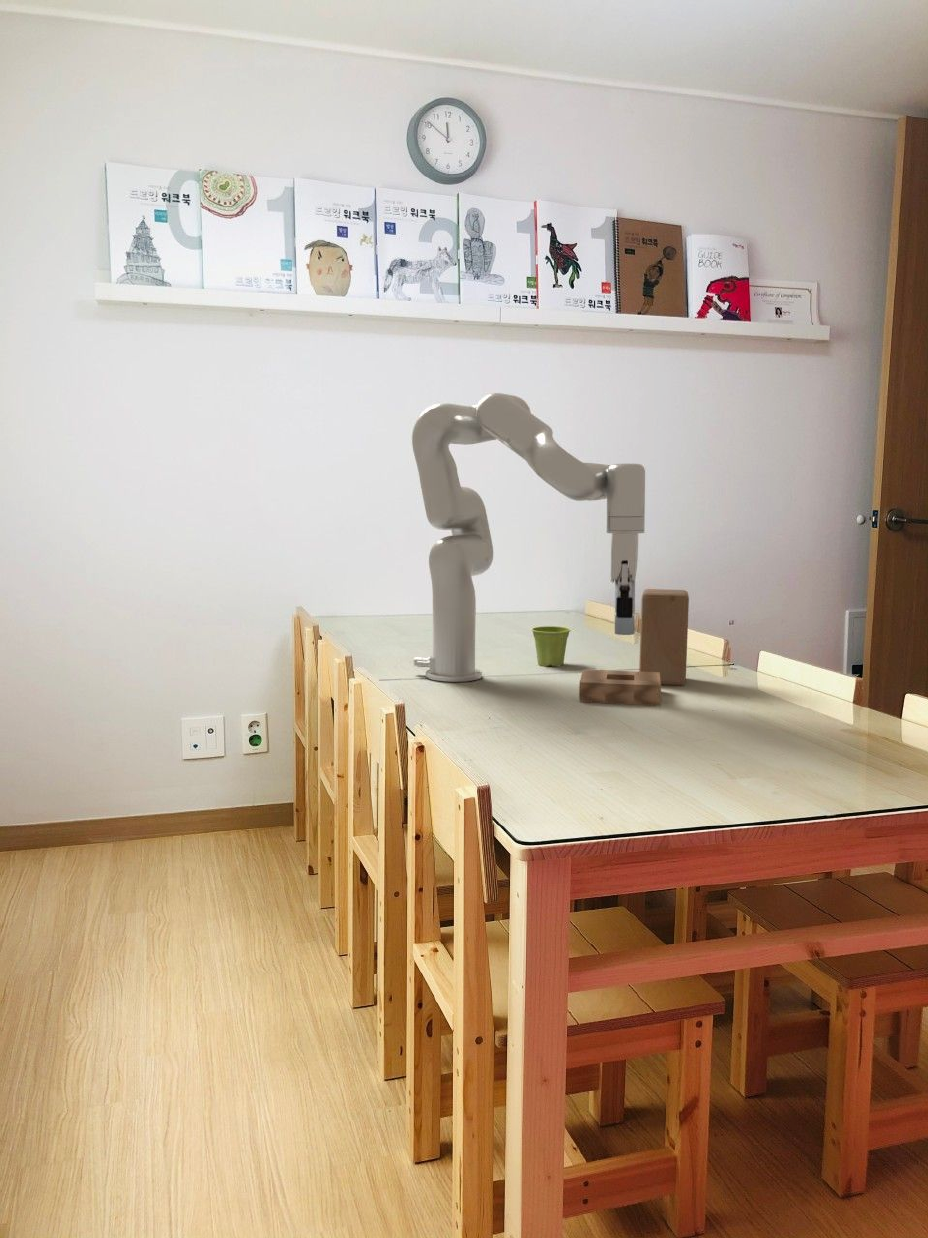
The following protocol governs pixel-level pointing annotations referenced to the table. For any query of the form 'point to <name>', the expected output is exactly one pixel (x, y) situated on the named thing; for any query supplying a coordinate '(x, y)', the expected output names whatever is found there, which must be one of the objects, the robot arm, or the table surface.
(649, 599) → the wooden block
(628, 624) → the peg
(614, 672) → the seat block
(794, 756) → the table surface
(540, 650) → the plant pot
